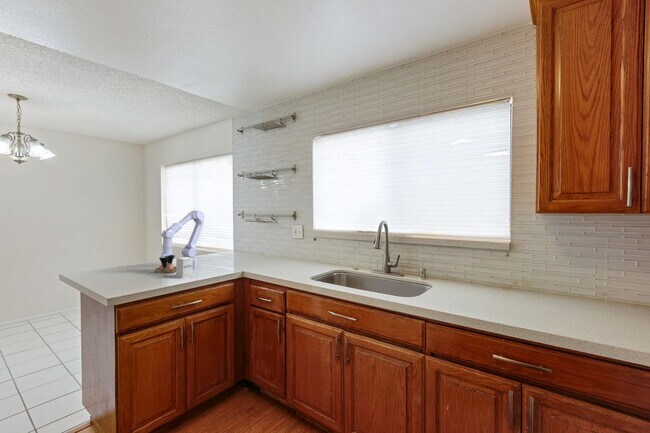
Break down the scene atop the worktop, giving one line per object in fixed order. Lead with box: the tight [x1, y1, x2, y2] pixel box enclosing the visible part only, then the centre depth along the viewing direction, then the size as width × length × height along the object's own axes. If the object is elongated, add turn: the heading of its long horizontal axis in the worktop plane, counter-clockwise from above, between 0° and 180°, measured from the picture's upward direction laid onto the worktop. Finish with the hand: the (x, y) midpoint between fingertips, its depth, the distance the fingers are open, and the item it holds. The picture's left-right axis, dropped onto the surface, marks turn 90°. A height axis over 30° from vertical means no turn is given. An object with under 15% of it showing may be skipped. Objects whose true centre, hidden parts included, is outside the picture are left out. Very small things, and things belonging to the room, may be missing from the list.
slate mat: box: [143, 270, 169, 277], centre depth 207 cm, size 13×17×1 cm
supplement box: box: [175, 256, 194, 279], centre depth 199 cm, size 7×7×13 cm
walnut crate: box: [154, 266, 176, 275], centre depth 211 cm, size 11×9×3 cm
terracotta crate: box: [159, 263, 175, 269], centre depth 211 cm, size 7×5×5 cm
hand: (167, 266), depth 211 cm, fingers open, 7 cm apart
